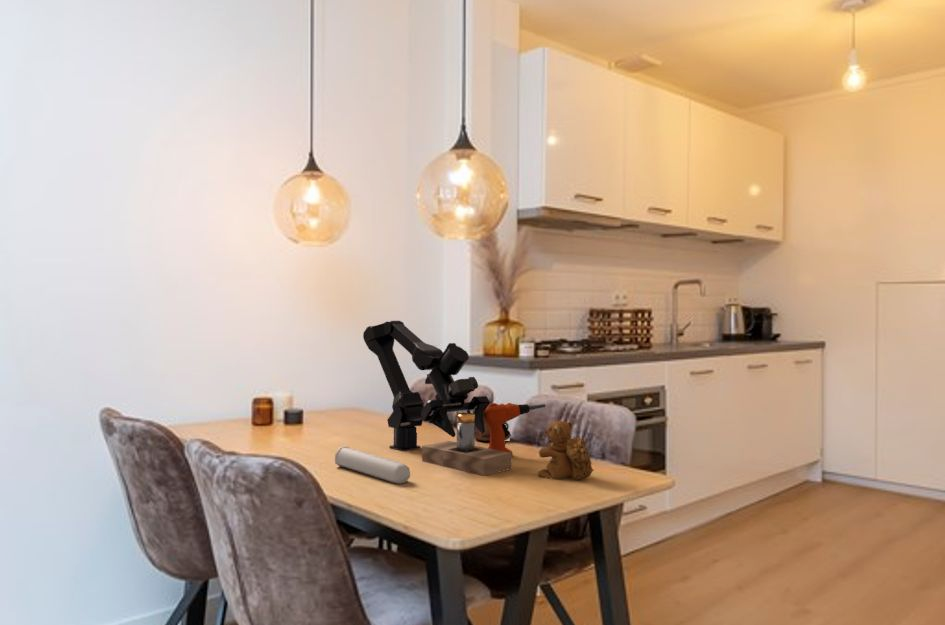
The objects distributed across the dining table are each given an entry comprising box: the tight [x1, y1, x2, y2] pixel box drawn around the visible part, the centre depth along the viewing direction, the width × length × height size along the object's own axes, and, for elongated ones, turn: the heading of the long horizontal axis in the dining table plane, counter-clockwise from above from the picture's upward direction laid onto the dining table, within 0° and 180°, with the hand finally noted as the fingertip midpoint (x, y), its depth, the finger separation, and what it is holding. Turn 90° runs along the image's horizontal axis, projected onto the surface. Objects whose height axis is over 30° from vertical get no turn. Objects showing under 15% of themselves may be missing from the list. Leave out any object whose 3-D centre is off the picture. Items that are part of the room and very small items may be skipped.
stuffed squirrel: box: [537, 420, 595, 481], centre depth 164 cm, size 10×14×13 cm
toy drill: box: [483, 402, 547, 455], centre depth 188 cm, size 5×19×15 cm, turn 106°
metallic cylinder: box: [456, 412, 476, 453], centre depth 175 cm, size 5×5×13 cm
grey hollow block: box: [421, 440, 513, 476], centre depth 175 cm, size 22×10×4 cm, turn 47°
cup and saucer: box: [475, 421, 512, 443], centre depth 211 cm, size 12×12×6 cm
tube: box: [334, 446, 411, 485], centre depth 164 cm, size 5×5×25 cm
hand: (469, 434), depth 174 cm, fingers open, 9 cm apart
